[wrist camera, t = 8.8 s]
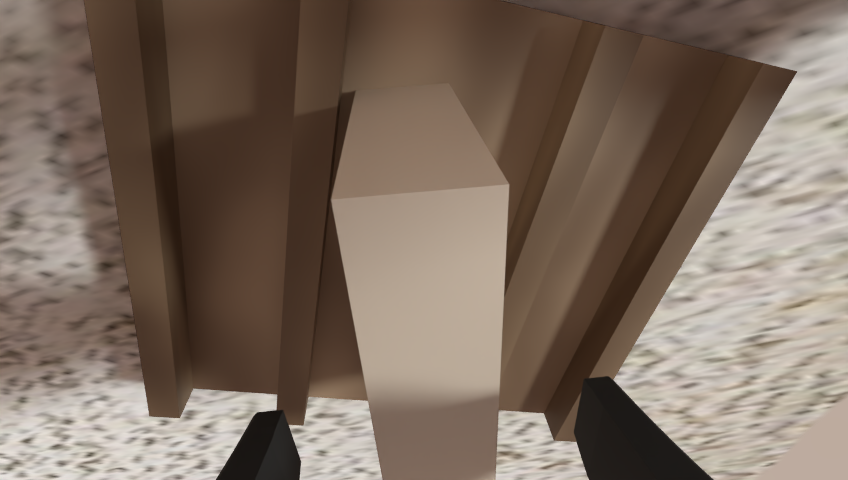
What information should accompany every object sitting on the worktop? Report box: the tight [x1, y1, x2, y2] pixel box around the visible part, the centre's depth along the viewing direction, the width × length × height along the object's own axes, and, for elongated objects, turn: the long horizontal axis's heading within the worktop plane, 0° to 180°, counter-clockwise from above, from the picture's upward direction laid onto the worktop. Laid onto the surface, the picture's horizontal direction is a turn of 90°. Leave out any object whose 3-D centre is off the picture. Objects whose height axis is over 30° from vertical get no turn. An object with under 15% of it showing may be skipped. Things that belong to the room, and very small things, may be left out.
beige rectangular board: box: [331, 83, 509, 480], centre depth 14 cm, size 3×12×8 cm, turn 3°
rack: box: [84, 0, 797, 442], centre depth 17 cm, size 21×18×3 cm
